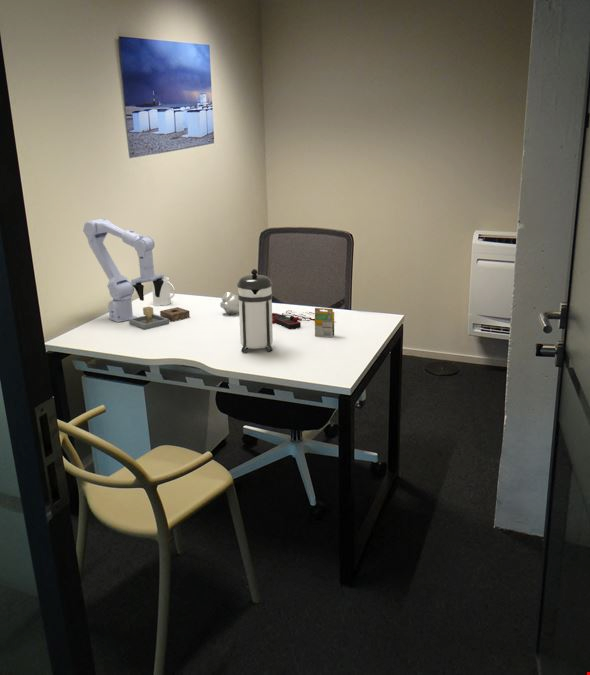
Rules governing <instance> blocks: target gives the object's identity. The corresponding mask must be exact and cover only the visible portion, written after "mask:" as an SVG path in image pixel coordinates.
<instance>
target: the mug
mask: <svg viewBox="0 0 590 675" xmlns="http://www.w3.org/2000/svg"><path fill="white" fill-rule="evenodd" d="M162 280H164V283H163V285H162V287H161V291H160V297H156V296H155V288H154V284H153V281H151V287H152V288H151V290H152V304H154V305H153V306H156V305H165V306H168V305H167V304H169V305H171V304H172V299H173V298H174V296H175V294H176V289H175V287H174V285H173V284H172V283H171V282H170V277H168V276H164V279H162ZM171 288H172V290H173V293H172V295H171ZM170 303H171V304H170Z"/></svg>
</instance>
